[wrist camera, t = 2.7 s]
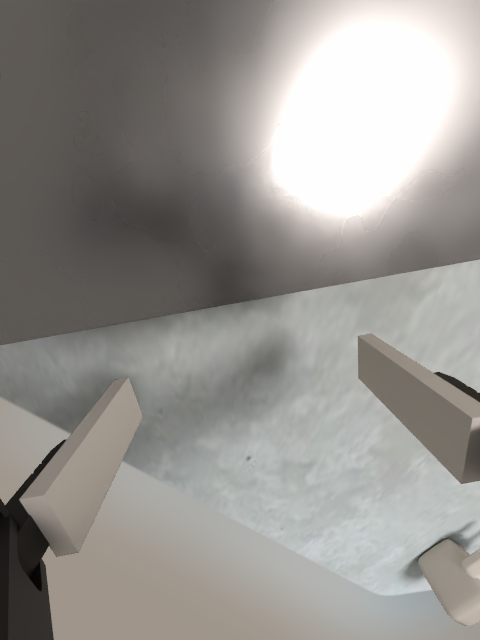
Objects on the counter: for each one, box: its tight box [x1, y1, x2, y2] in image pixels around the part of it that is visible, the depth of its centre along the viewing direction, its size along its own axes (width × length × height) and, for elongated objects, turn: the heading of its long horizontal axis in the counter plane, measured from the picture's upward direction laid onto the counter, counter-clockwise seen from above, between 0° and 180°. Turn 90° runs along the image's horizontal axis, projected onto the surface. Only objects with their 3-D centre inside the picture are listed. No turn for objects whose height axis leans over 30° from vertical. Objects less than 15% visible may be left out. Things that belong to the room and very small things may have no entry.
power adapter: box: [418, 539, 480, 626], centre depth 29 cm, size 11×5×6 cm, turn 142°
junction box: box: [0, 0, 480, 345], centre depth 12 cm, size 11×17×13 cm, turn 100°
